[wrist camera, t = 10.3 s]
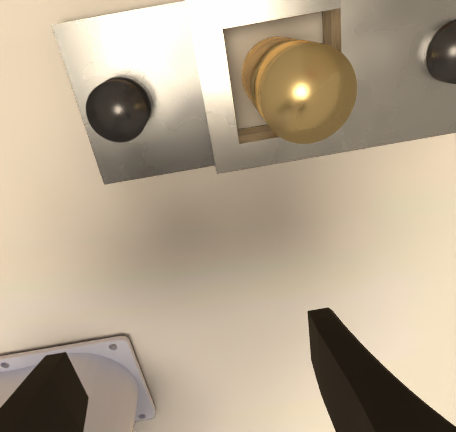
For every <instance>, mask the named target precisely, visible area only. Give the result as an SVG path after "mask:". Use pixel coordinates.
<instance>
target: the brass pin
mask: <svg viewBox="0 0 456 432" xmlns="http://www.w3.org/2000/svg"><path fill="white" fill-rule="evenodd" d="M242 83H243V87H244V89H245V92H246V93H247V95H248V97H249V98H250V99H251V101H252V102H253V104H254V105H255V107H256V108H257V110H258V111H259V113H260V114H261V115H262V117H263V118H264V120H265V121H266V123H267V124H268V126H269V127H270V128H271V130H272V131H273V132H274V133H275V134H277V135H278V136H279V137H281V138H282V139H284V140H286V141H289V142H292V143H297V144H310V143H315V142H319V141H321V140H324V139H326V138H328V137H329V136H331V135H332V134H334V133H335V132H336V131H337V130H339V129H340V128H341V127H342V126H343V124H344V123H345V122H346V120H347V119H348V117H349V116H350V114H351V112H352V110H353V107H354V104H355V101H356V96H357V80H356V75H355V72H354V69H353V67H352V65H351V63H350V62H349V60H348V59H347V58H346V56H345V55H344V54H343V53H341V52H340V51H339V50H337V49H336V48H334V47H332V46H329V45H327V44H322V43H316V42H310V41H304V40H298V39H291V38H285V37H271V38H267V39H265V40H263V41H261V42H259V43H258V44H256V45H255V46H254V47H253V48H252V49H251V50H250V52H249V53H248V55H247V56H246V59H245V61H244V64H243V68H242Z"/></svg>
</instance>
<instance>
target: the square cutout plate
mask: <svg viewBox="0 0 456 432" xmlns="http://www.w3.org/2000/svg"><path fill="white" fill-rule="evenodd" d="M321 11H322V14H323V43H324V44H327V45H329V46H332V47H334V48H336V49H337V50H339V51H340V52H341V53H343V54H344V55H345V56H346V58H347V59H348V60H349V62H350V63H351V65H352V67H353V69H354V72H355V75H356V80H357V96H356V101H355V104H354V107H353V110H352V112H351V114H350V116H349V117H348V119H347V120H346V122H345V123H344V124H343V126H342V127H341V128H340V129H339V130H337V131H336V132H335V133H334V134H332V135H331V136H329V137H328V138H326V139H324V140H321V141H319V142H315V143H310V144H297V143H292V142H289V141H286V140H284V139H282V138H281V137H279V136H278V135H277V134H275V133H274V132H273V131H272V130H271V128H270V127H269V126H268V125H262V126H256V127H251V128H245V129H239V130H237V125H236V118H235V111H234V105H233V98H232V91H231V84H230V77H229V71H228V64H227V57H226V50H225V43H224V36H223V30H222V29H225V28H231V27H236V26H242V25H248V24H253V23H259V22H265V21H270V20H276V19H281V18H287V17H293V16H298V15H304V14H310V13H315V12H321ZM51 27H52V30H53V33H54V36H55V39H56V42H57V45H58V48H59V51H60V54H61V57H62V60H63V63H64V66H65V69H66V72H67V75H68V78H69V81H70V84H71V87H72V90H73V93H74V96H75V99H76V102H77V104H78V107H79V110H80V113H81V116H82V119H83V122H84V125H85V128H86V131H87V134H88V137H89V140H90V143H91V146H92V149H93V152H94V155H95V158H96V161H97V164H98V167H99V170H100V173H101V176H102V179H103V182H104V184H110V183H116V182H121V181H127V180H133V179H139V178H145V177H150V176H156V175H162V174H168V173H173V172H179V171H185V170H191V169H196V168H202V167H208V166H214V165H216V171H217V174H220V173H225V172H231V171H237V170H243V169H248V168H254V167H260V166H266V165H271V164H277V163H283V162H289V161H295V160H300V159H306V158H312V157H318V156H323V155H329V154H335V153H341V152H346V151H352V150H358V149H364V148H370V147H375V146H381V145H387V144H393V143H398V142H404V141H410V140H416V139H422V138H427V137H433V136H439V135H445V134H450V133H456V0H186V1H181V2H175V3H170V4H164V5H158V6H153V7H147V8H142V9H136V10H130V11H125V12H119V13H113V14H108V15H102V16H97V17H91V18H85V19H80V20H74V21H68V22H63V23H57V24H52V25H51Z"/></svg>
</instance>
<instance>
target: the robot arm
mask: <svg viewBox="0 0 456 432" xmlns="http://www.w3.org/2000/svg"><path fill="white" fill-rule="evenodd" d="M308 323H309V336H310V349H311V361H312V364H313V368H314V371H315V375H316V379H317V382H318V385H319V389H320V392H321V395H322V398H323V401H324V403H325V406H326V408H327V411H328V413H329V416H330V418H331V421H332V423H333V426H334V428H335V431H336V432H456V427H455V426H454V425H453V424H451V423H450V422H449V421H447V420H446V419H445V418H444V417H442V416H441V415H440V414H439V413H437V412H436V411H435V410H433V409H432V408H431V407H430V406H428V405H427V404H426V403H425V402H424V401H422V400H421V399H420V398H419V397H418V396H416V395H415V394H414V393H413V392H412V391H411V390H409V389H408V388H407V387H406V386H405V385H404V384H403V383H402V382H401V381H399V380H398V379H397V378H396V377H395V376H394V375H393V374H392V373H391V372H390V371H389V370H387V369H386V368H385V367H384V366H383V365H382V364H381V363H380V362H379V361H378V360H377V359H376V358H375V357H374V356H373V355H372V354H371V353H370V352H369V351H368V350H367V349H366V348H365V347H364V346H363V345H362V344H361V343H360V342H359V341H358V339H357V338H356V337H355V336H354V335H353V334H352V333H351V332H350V331H349V330H348V328H347V327H346V326H345V325H344V324H343V323H342V322H341V320H340V319H339V318H338V317H337V316H336V314H335V313H334V312H333V311H332V310H331V309H330V308H323V309H317V310H311V311H308ZM112 344H115V345H112ZM5 362H6V363H5ZM155 415H156V409H155V406H154V403H153V401H152V398H151V396H150V393H149V390H148V388H147V385H146V382H145V380H144V377H143V375H142V372H141V369H140V367H139V364H138V361H137V359H136V356H135V354H134V351H133V348H132V346H131V343H130V340H129V339H128V338H127V337H125V336H116V337H110V338H105V339H99V340H93V341H87V342H81V343H75V344H69V345H63V346H57V347H51V348H46V349H40V350H34V351H28V352H22V353H16V354H10V355H4V356H0V432H133V427H134V422H136V421H142V420H148V419H152V418H154V417H155Z"/></svg>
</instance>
